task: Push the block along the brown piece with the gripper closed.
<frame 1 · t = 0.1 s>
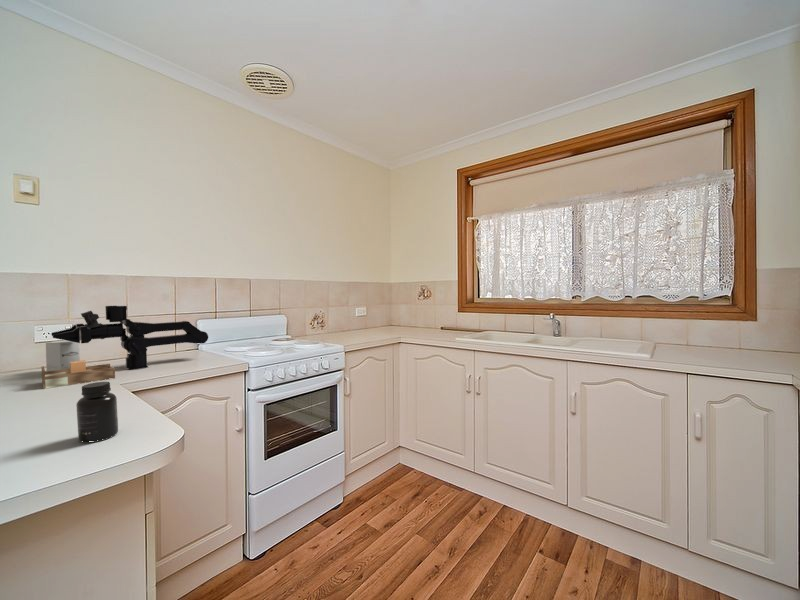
hand: (52, 335, 130), 17 cm above the table, tool horizontal, fingers open, 9 cm apart
supplement bottle: (98, 438, 78), on the table
supplement box: (63, 372, 143), on the table
block: (78, 372, 128), point 3 cm above the table, touching brown piece
brown piece: (79, 380, 129), on the table
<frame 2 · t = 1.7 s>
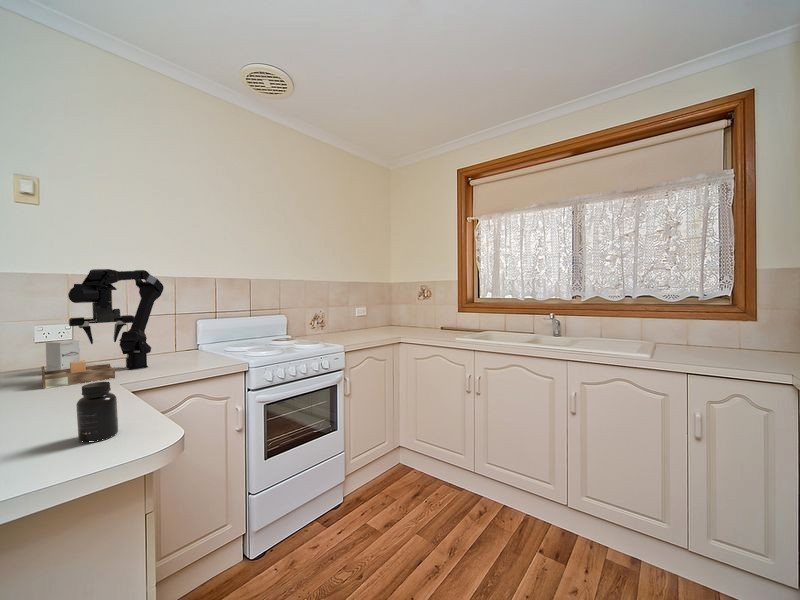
hand: (103, 343, 133), 13 cm above the table, tool pointing down, fingers open, 6 cm apart
nothing on the table moved.
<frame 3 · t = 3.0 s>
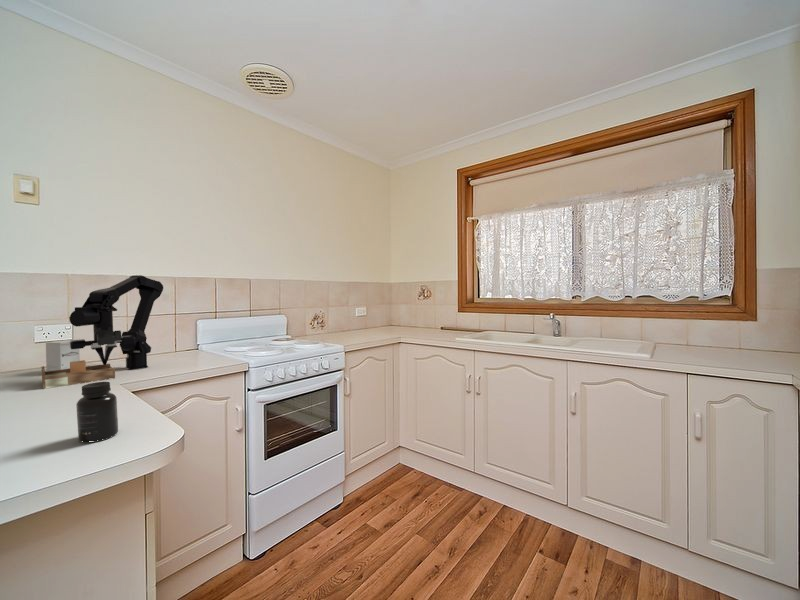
hand: (104, 364, 134), 5 cm above the table, tool pointing down, fingers closed
nothing on the table moved.
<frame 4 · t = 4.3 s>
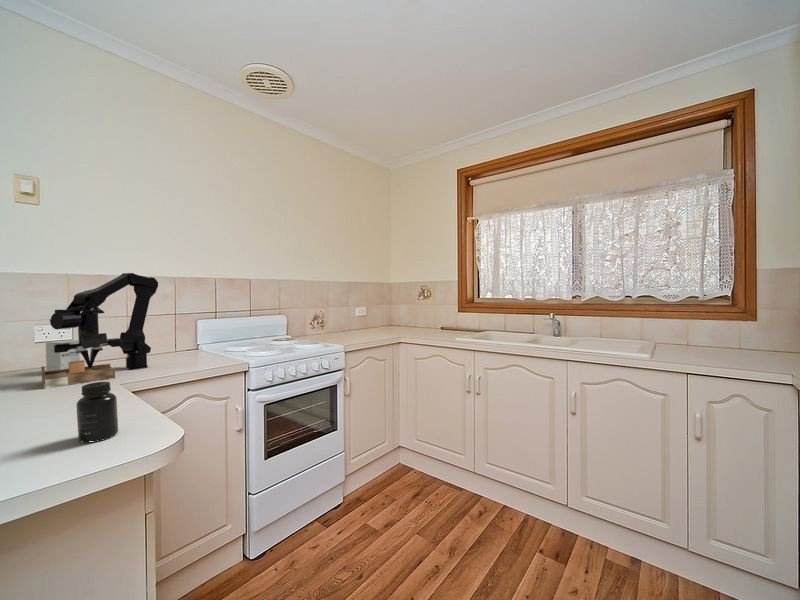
hand: (90, 368, 131), 4 cm above the table, tool pointing down, fingers closed
block: (76, 372, 128), point 3 cm above the table, touching gripper
everything else where it was.
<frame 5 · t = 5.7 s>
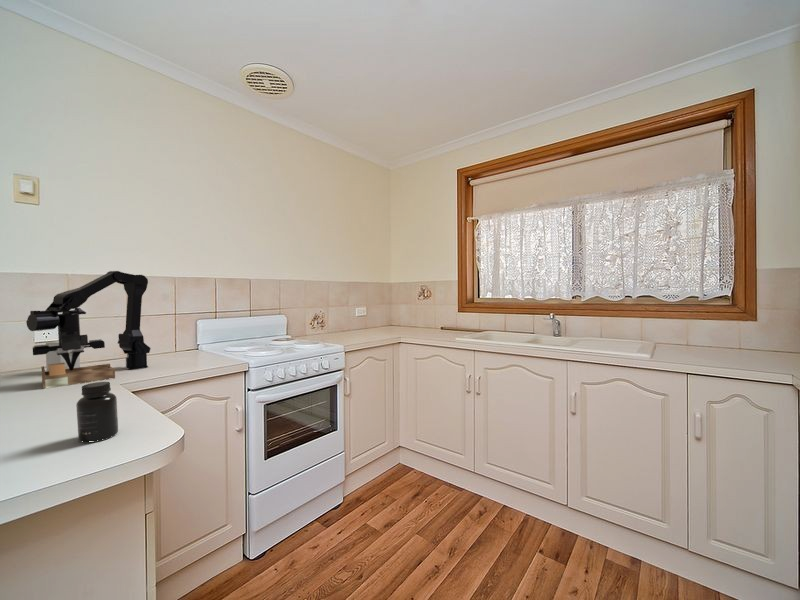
hand: (71, 370, 127), 4 cm above the table, tool pointing down, fingers closed
block: (57, 375, 124), point 3 cm above the table, touching gripper, brown piece
everything else where it was.
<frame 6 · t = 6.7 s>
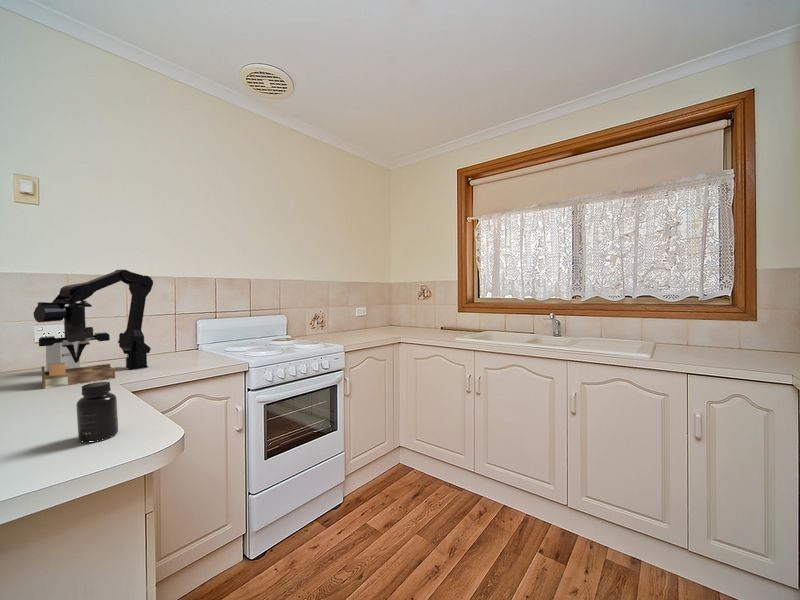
hand: (76, 362, 128), 7 cm above the table, tool pointing down, fingers closed
block: (57, 375, 124), point 3 cm above the table, touching brown piece
everything else where it was.
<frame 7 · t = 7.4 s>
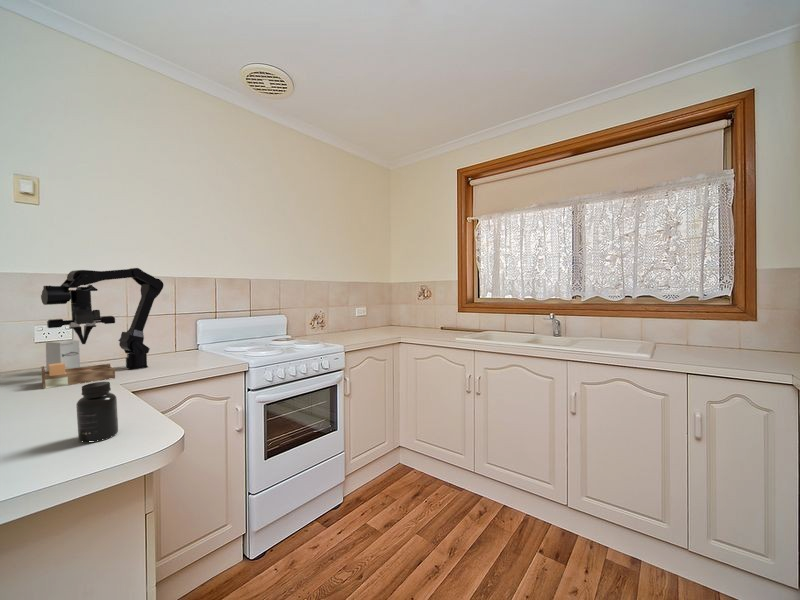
hand: (83, 344, 133), 13 cm above the table, tool pointing down, fingers closed
nothing on the table moved.
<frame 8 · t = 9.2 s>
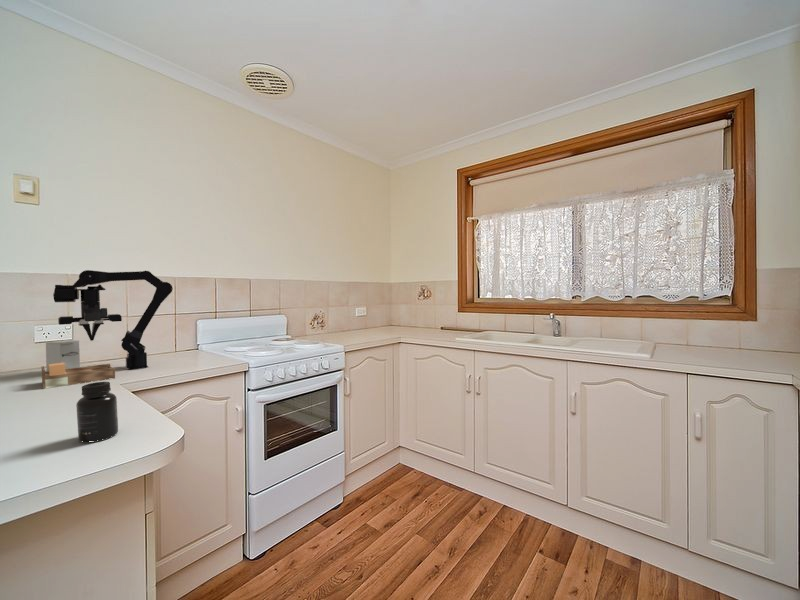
hand: (91, 340, 141), 13 cm above the table, tool pointing down, fingers closed
nothing on the table moved.
at the end: block 0.2 cm from the target spot on the brown piece, point 3.0 cm above the brown piece's base; block tilted 0° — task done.
